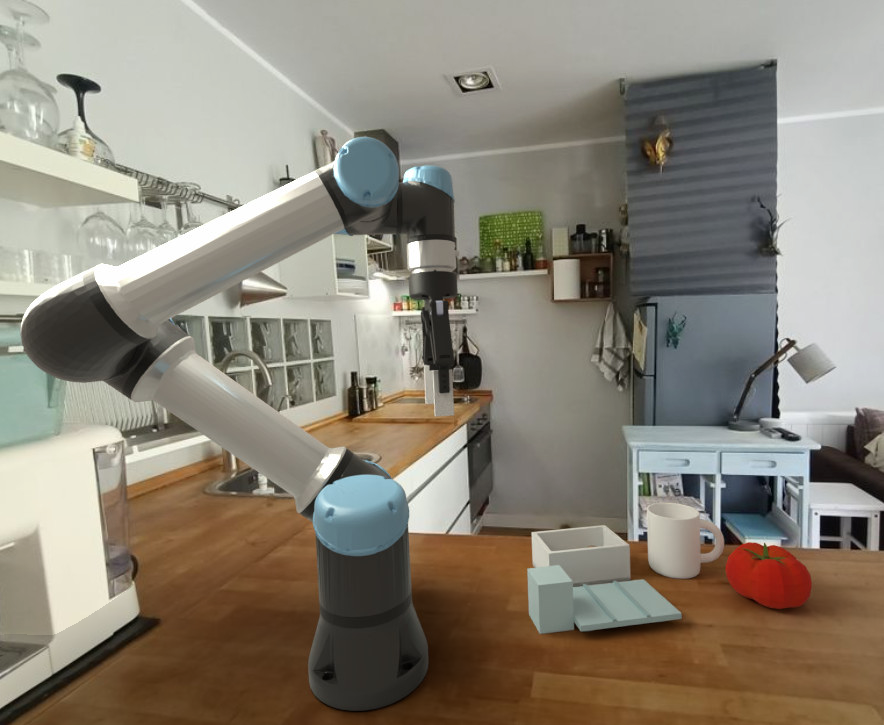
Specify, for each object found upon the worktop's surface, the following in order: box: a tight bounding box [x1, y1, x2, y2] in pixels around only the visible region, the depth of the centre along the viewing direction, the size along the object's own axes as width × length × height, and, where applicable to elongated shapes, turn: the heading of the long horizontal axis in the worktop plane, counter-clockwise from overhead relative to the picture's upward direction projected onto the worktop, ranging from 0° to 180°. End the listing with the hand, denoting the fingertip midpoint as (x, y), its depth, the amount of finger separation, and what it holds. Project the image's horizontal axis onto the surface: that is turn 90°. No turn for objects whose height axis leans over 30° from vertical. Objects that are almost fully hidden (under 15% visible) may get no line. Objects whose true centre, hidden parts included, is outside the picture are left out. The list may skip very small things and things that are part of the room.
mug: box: [646, 502, 725, 580], centre depth 84 cm, size 12×8×10 cm
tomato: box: [725, 542, 813, 610], centre depth 74 cm, size 11×11×8 cm
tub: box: [531, 524, 631, 587], centre depth 85 cm, size 9×14×6 cm, turn 98°
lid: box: [526, 565, 682, 635], centre depth 72 cm, size 10×20×7 cm, turn 98°
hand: (438, 409), depth 77 cm, fingers open, 13 cm apart
